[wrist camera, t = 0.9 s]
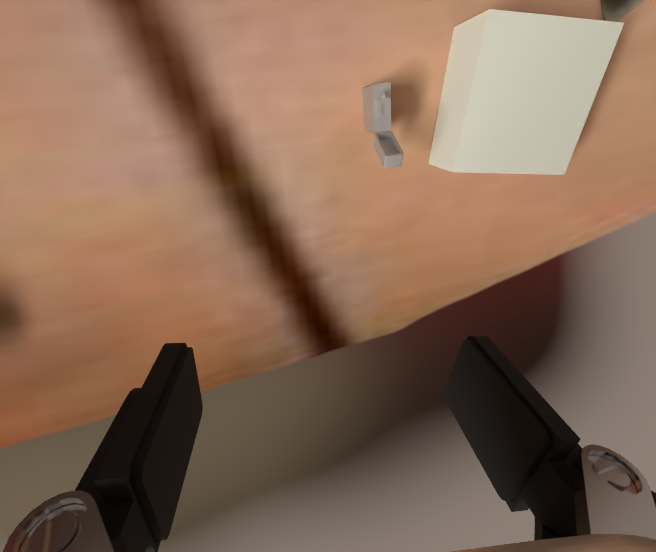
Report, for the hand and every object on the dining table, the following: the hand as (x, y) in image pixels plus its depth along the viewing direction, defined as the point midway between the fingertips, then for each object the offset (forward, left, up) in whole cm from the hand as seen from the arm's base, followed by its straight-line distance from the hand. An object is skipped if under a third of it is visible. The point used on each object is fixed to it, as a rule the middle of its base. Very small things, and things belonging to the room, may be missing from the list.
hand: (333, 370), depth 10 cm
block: (-10, +22, -29) cm, 38 cm away
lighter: (-7, +8, -29) cm, 31 cm away
